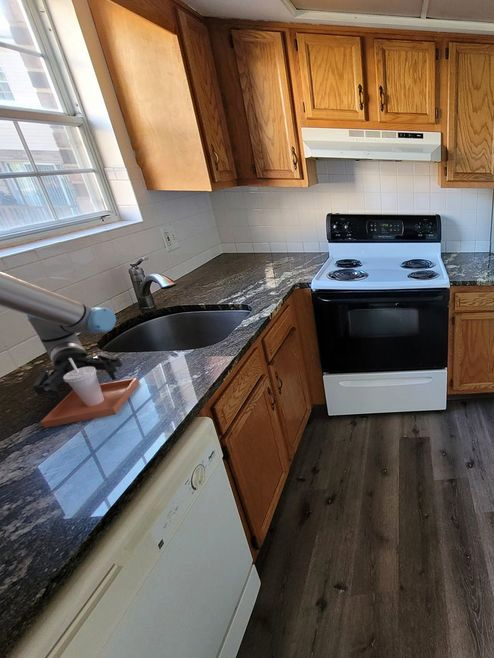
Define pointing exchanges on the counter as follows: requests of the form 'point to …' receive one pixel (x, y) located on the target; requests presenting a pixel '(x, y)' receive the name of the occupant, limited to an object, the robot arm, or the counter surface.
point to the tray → (78, 410)
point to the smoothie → (85, 384)
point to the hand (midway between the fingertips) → (85, 385)
